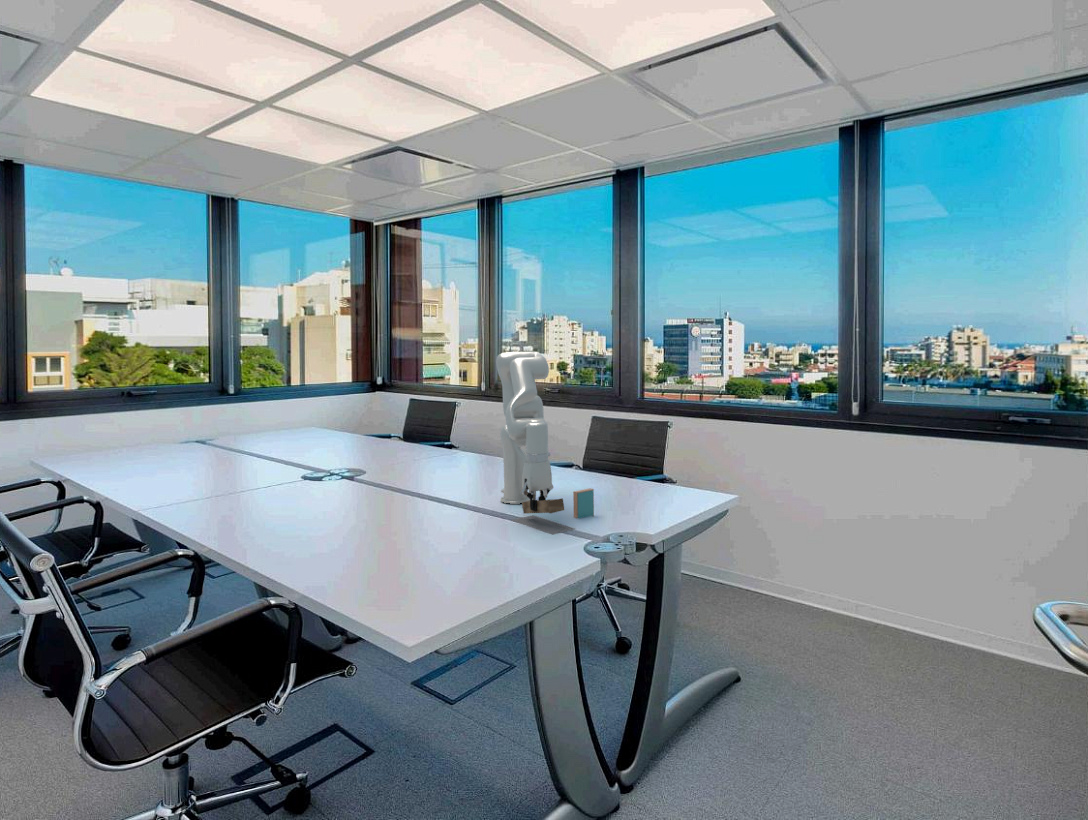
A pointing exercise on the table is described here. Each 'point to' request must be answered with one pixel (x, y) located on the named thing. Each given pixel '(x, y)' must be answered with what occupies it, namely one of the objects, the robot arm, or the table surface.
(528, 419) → the robot arm
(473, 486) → the table surface
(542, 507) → the wooden beam
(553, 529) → the tool mat
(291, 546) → the table surface
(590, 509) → the tile
